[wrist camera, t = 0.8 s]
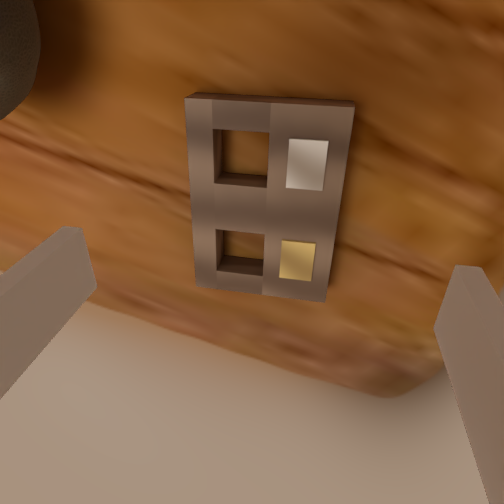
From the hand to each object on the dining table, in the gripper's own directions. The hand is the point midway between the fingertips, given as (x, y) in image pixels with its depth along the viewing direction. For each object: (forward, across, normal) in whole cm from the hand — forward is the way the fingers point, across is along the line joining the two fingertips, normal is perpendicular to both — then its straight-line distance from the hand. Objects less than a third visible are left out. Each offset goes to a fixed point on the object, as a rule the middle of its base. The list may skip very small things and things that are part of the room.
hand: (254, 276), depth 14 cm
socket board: (+22, -2, -7) cm, 23 cm away
